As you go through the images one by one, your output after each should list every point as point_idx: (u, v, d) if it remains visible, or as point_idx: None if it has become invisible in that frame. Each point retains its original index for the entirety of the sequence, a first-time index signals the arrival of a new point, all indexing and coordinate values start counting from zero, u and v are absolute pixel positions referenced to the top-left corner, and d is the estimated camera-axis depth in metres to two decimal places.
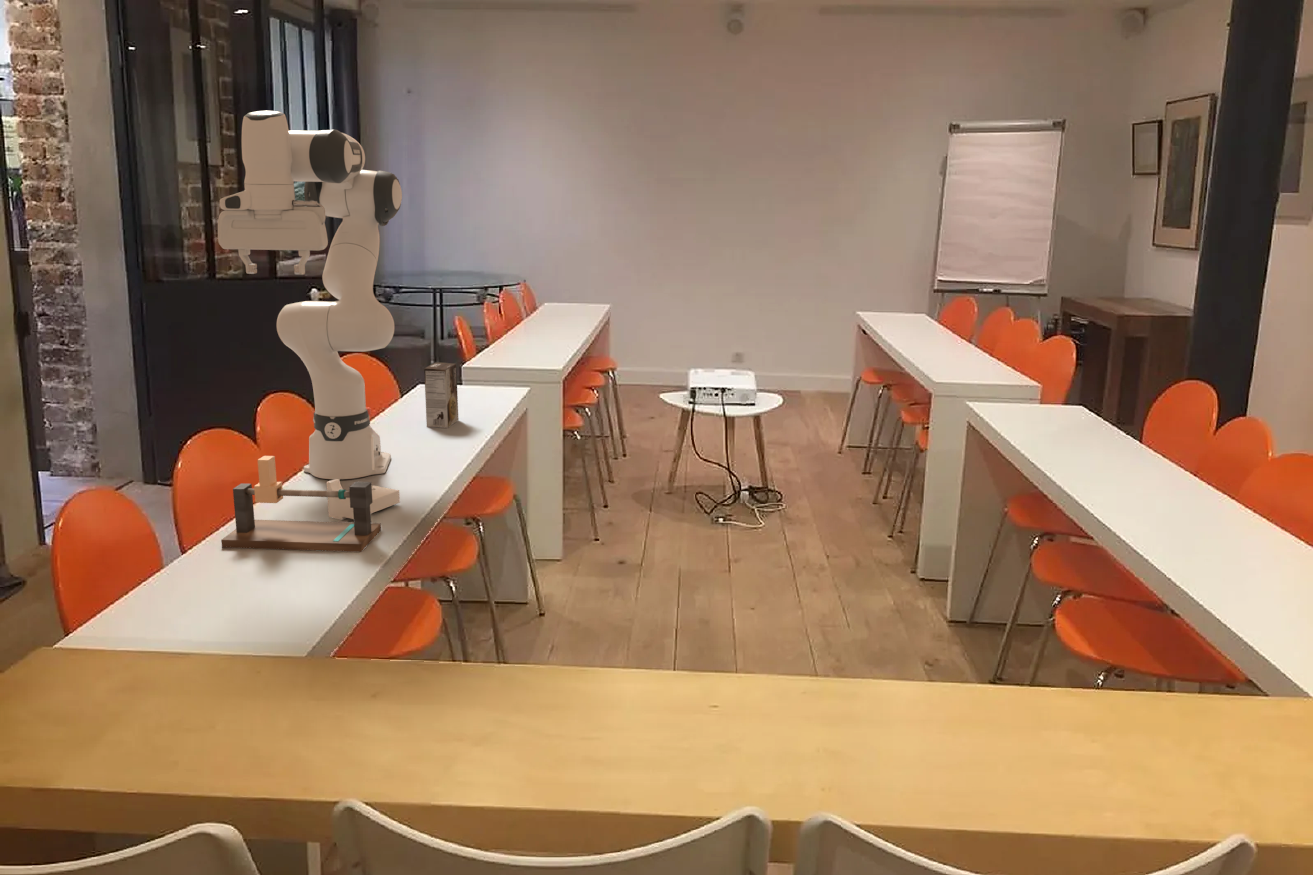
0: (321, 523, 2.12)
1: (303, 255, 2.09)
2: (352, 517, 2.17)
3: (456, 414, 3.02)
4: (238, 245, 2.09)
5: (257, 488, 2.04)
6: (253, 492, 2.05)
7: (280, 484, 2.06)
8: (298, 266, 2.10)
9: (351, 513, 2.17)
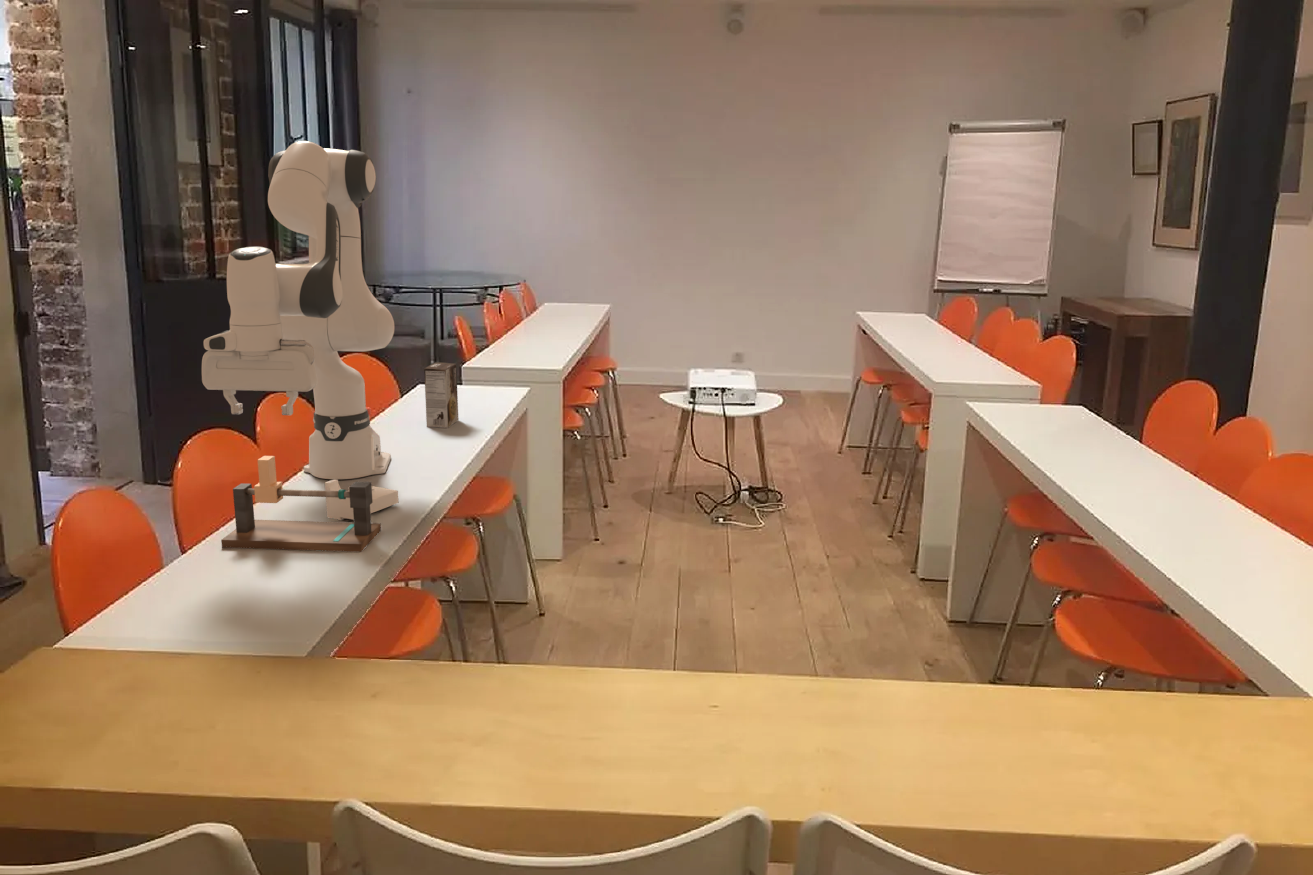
0: (321, 523, 2.12)
1: (291, 396, 2.00)
2: (350, 517, 2.17)
3: (456, 414, 3.02)
4: (223, 386, 1.99)
5: (257, 488, 2.04)
6: (253, 492, 2.05)
7: (280, 484, 2.06)
8: (286, 407, 2.00)
9: (349, 513, 2.17)
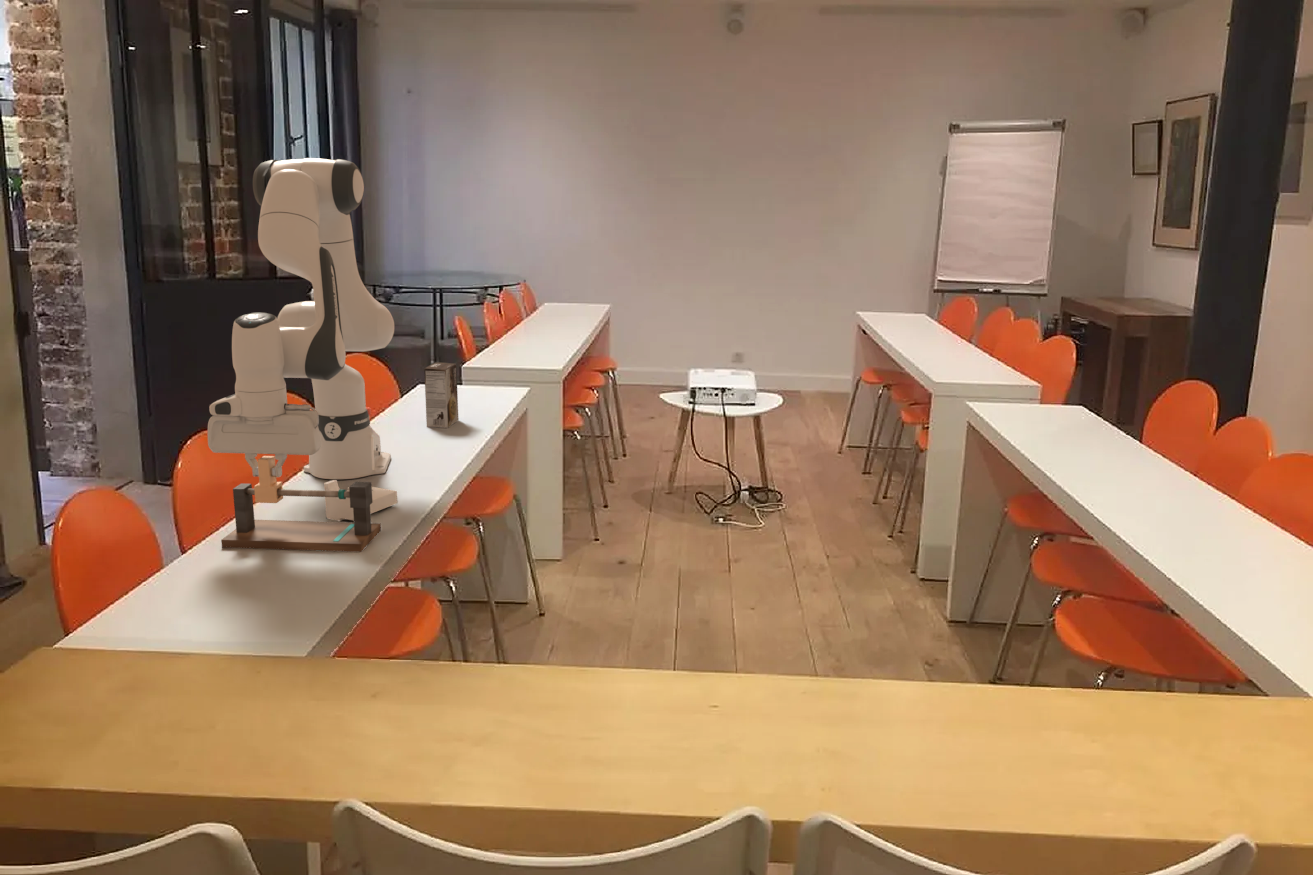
0: (321, 523, 2.12)
1: (280, 459, 2.03)
2: (350, 518, 2.17)
3: (456, 414, 3.02)
4: (229, 449, 2.02)
5: (257, 488, 2.04)
6: (253, 492, 2.05)
7: (280, 484, 2.06)
8: (275, 469, 2.04)
9: (349, 514, 2.17)
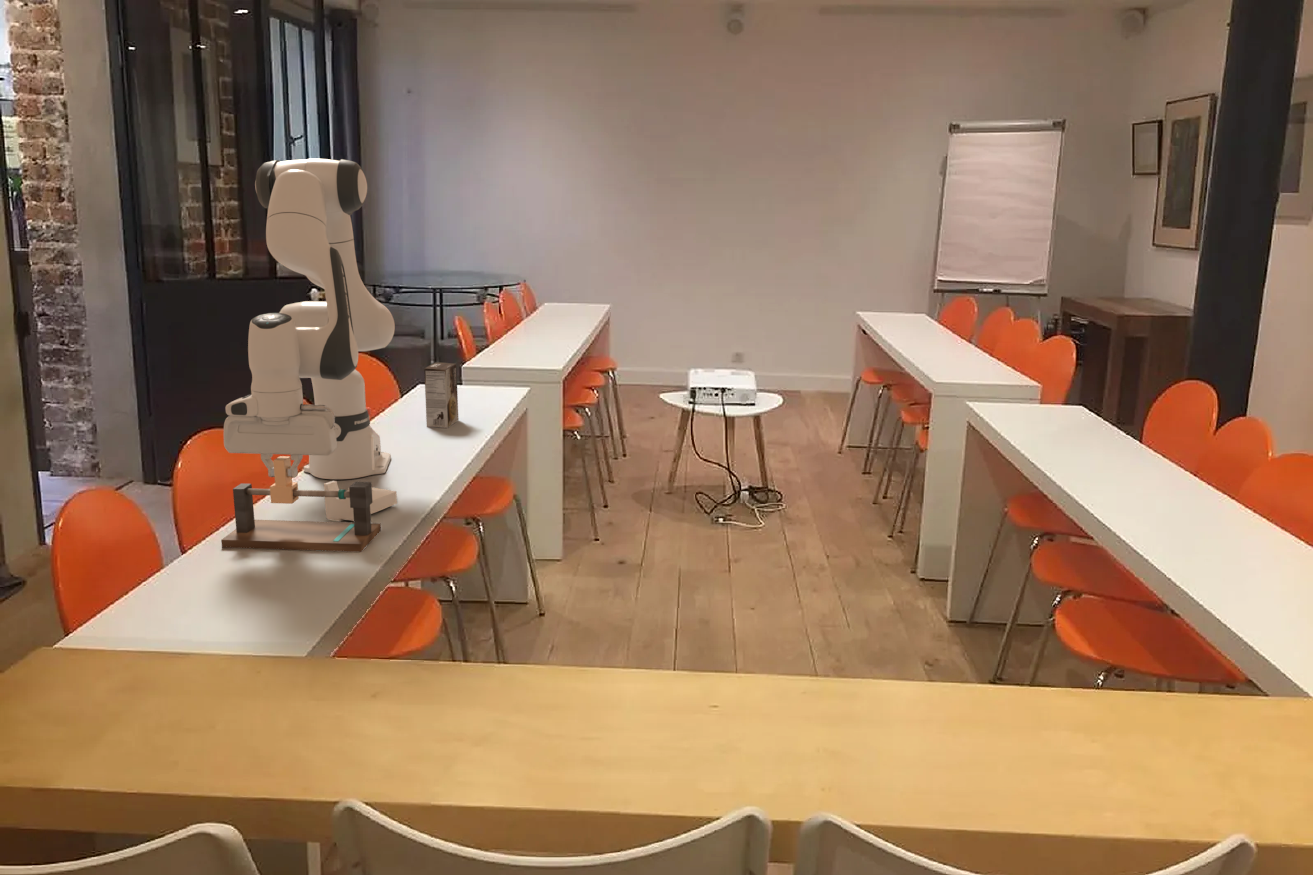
0: (321, 523, 2.12)
1: (295, 459, 2.03)
2: (350, 519, 2.16)
3: (456, 414, 3.02)
4: (244, 450, 2.02)
5: (273, 488, 2.04)
6: (253, 492, 2.05)
7: (296, 484, 2.06)
8: (290, 470, 2.03)
9: (349, 515, 2.16)
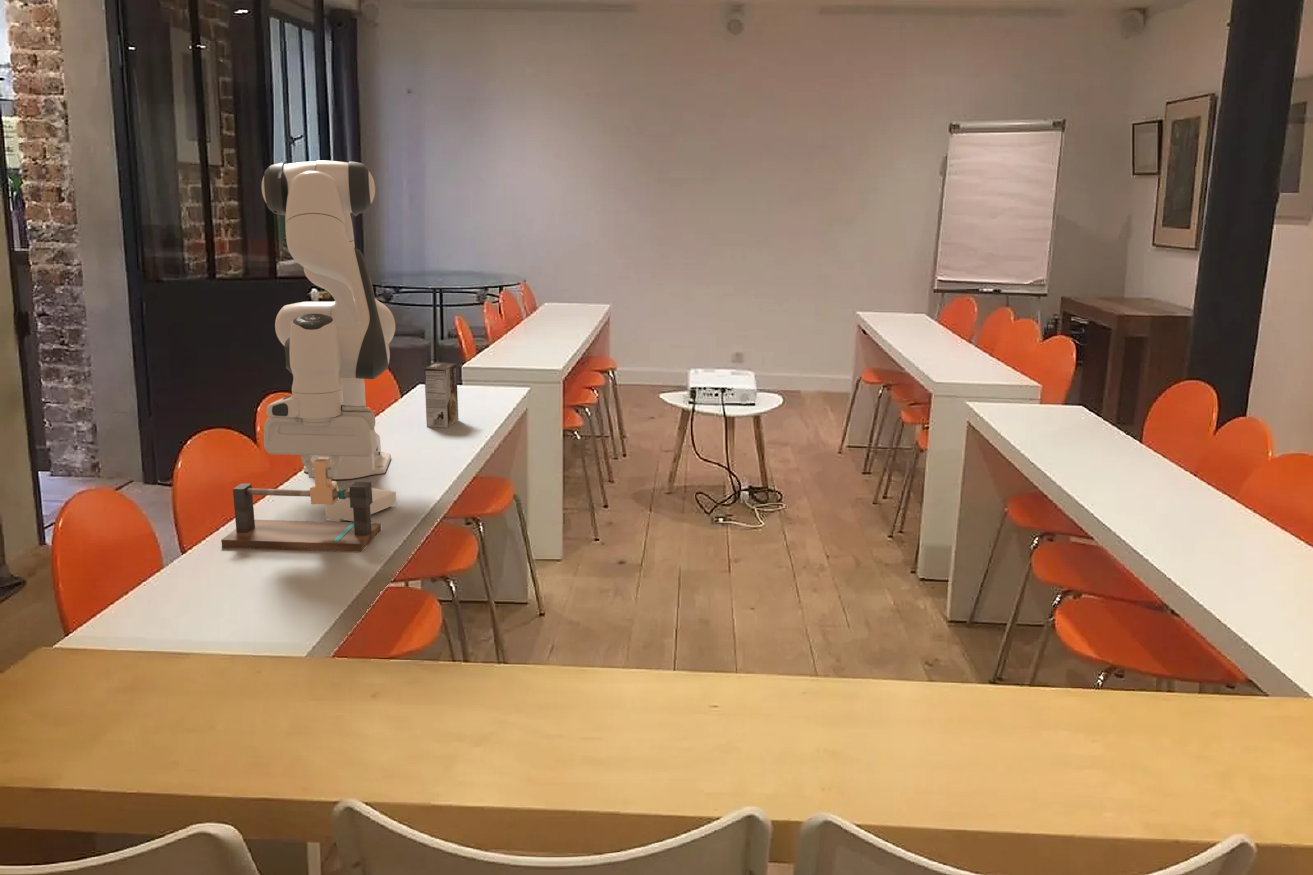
0: (321, 523, 2.12)
1: (336, 460, 2.02)
2: (350, 519, 2.16)
3: (456, 414, 3.02)
4: (285, 451, 2.02)
5: (313, 490, 2.03)
6: (253, 492, 2.05)
7: (335, 486, 2.05)
8: (331, 471, 2.03)
9: (349, 515, 2.16)
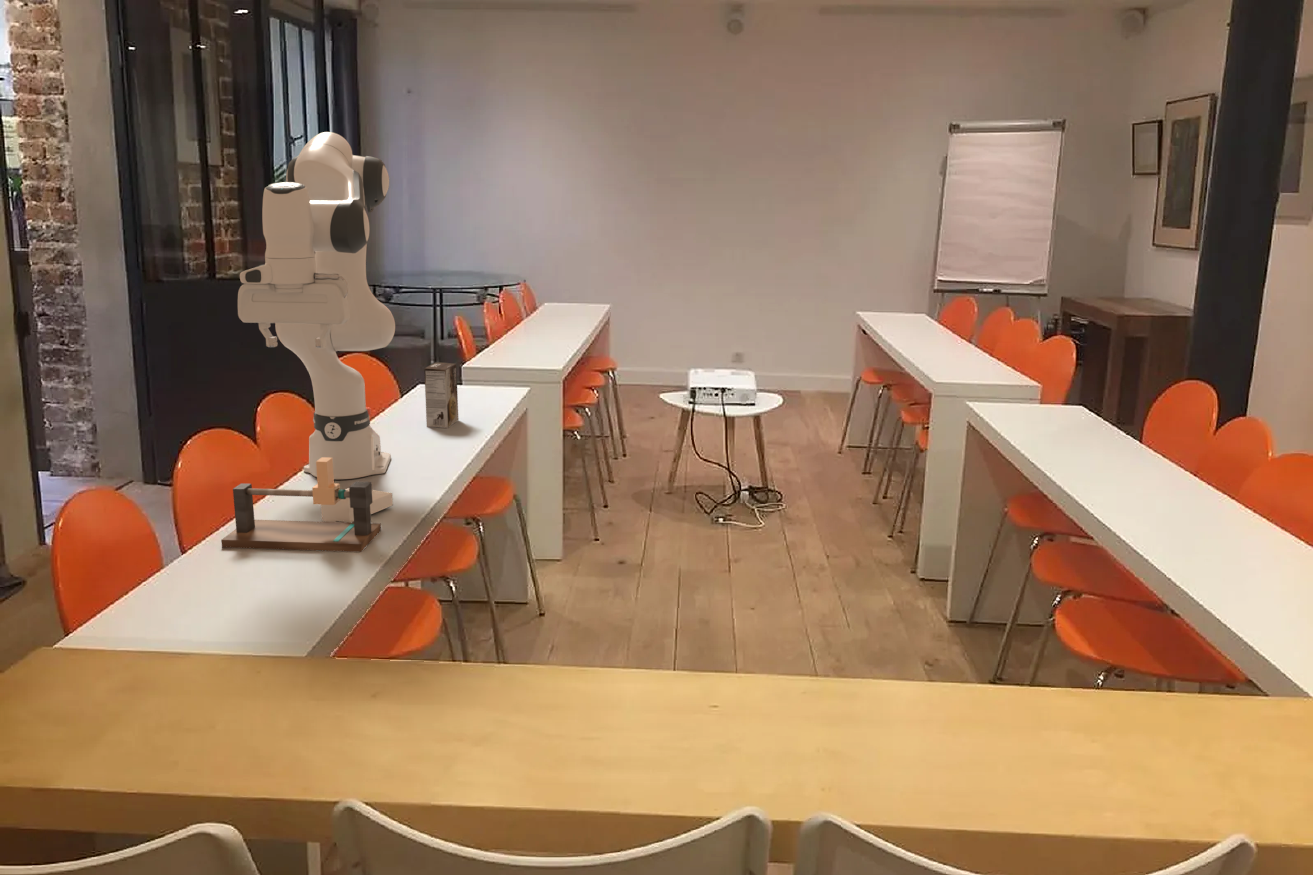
0: (321, 523, 2.12)
1: (325, 329, 2.05)
2: (346, 521, 2.15)
3: (456, 414, 3.02)
4: (258, 319, 2.04)
5: (315, 490, 2.03)
6: (253, 492, 2.05)
7: (338, 486, 2.05)
8: (319, 340, 2.05)
9: (345, 517, 2.15)
